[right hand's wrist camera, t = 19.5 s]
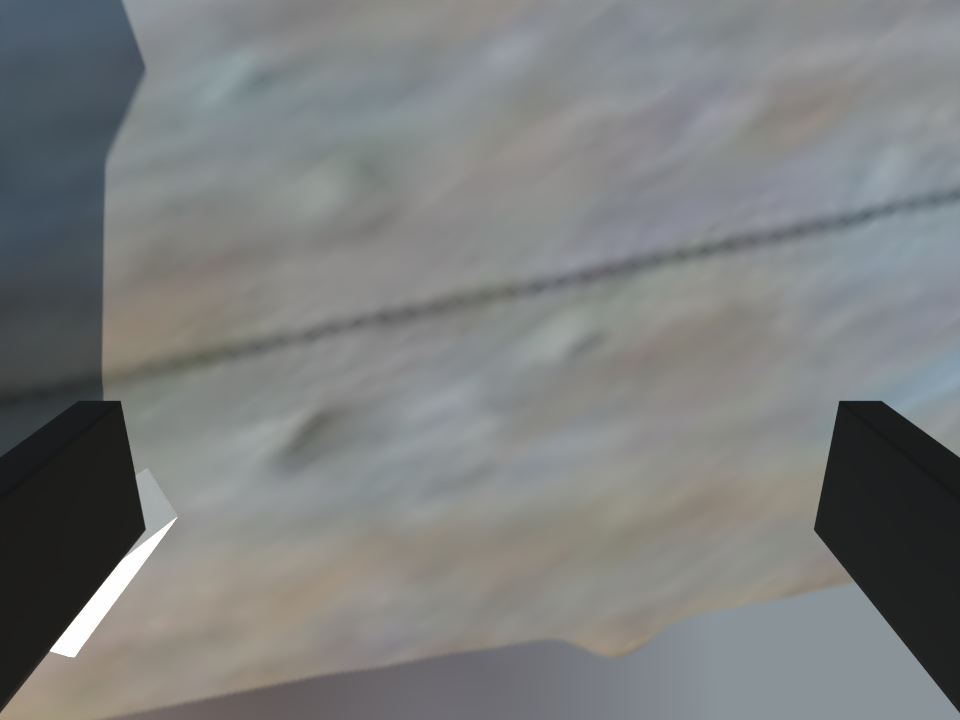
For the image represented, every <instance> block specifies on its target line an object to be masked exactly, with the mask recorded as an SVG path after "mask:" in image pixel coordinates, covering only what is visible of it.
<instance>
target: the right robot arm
mask: <svg viewBox="0 0 960 720" xmlns="http://www.w3.org/2000/svg"><path fill="white" fill-rule="evenodd" d="M145 530H146V527H145V522H144V517H143V512H142V507H141V502H140V497H139V491H138V486H137V481H136V476H135V471H134V466H133V461H132V456H131V451H130V446H129V441H128V436H127V431H126V426H125V421H124V416H123V411H122V406H121V401H78V402H76V403H75V404H74V405H72V406H71V407H70V408H68V409H67V410H65V411H64V412H63V413H61V414H60V415H58V416H57V417H56V418H54V419H53V420H52V421H50V422H49V423H47V424H46V425H45V426H43V427H42V428H41V429H39V430H38V431H36V432H35V433H34V434H32V435H31V436H30V437H28V438H27V439H25V440H24V441H23V442H21V443H20V444H18V445H17V446H16V447H14V448H13V449H12V450H10V451H9V452H7V453H6V454H5V455H3V456H2V457H1V458H0V713H1V711H2V710H3V709H4V708H5V706H6V705H7V704H8V703H9V701H10V700H11V699H12V698H13V696H14V695H15V694H16V693H17V691H18V690H19V689H20V687H21V686H22V685H23V684H24V682H25V681H26V680H27V679H28V677H29V676H30V675H31V674H32V672H33V671H34V670H35V669H36V667H37V666H38V665H39V664H40V662H41V661H42V660H43V659H44V657H45V656H46V655H47V654H48V652H49V651H50V650H51V649H52V647H53V646H54V645H55V644H56V642H57V641H58V640H59V638H60V637H61V636H62V635H63V633H64V632H65V631H66V630H67V628H68V627H69V626H70V625H71V623H72V622H73V621H74V620H75V618H76V617H77V616H78V615H79V613H80V612H81V611H82V610H83V608H84V607H85V606H86V605H87V603H88V602H89V601H90V600H91V598H92V597H93V596H94V595H95V593H96V592H97V591H98V589H99V588H100V587H101V586H102V584H103V583H104V582H105V581H106V579H107V578H108V577H109V576H110V574H111V573H112V572H113V571H114V569H115V568H116V567H117V566H118V564H119V563H120V562H121V561H122V559H123V558H124V557H125V556H126V554H127V553H128V552H129V551H130V549H131V548H132V547H133V546H134V544H135V543H136V542H137V540H138V539H139V538H140V537H141V535H142V534H143V533H144V532H145ZM814 530H815V532H816V533H817V534H818V535H819V537H820V538H821V539H822V541H823V542H824V543H825V544H826V546H827V547H828V548H829V549H830V551H831V552H832V553H833V554H834V556H835V557H836V558H837V559H838V561H839V562H840V563H841V564H842V566H843V567H844V568H845V569H846V571H847V572H848V573H849V574H850V576H851V577H852V578H853V579H854V581H855V582H856V583H857V584H858V586H859V587H860V588H861V589H862V591H863V592H864V593H865V595H866V596H867V597H868V598H869V600H870V601H871V602H872V603H873V605H874V606H875V607H876V608H877V610H878V611H879V612H880V613H881V615H882V616H883V617H884V618H885V620H886V621H887V622H888V623H889V625H890V626H891V627H892V628H893V630H894V631H895V632H896V633H897V635H898V636H899V637H900V638H901V640H902V641H903V642H904V644H905V645H906V646H907V647H908V649H909V650H910V651H911V652H912V654H913V655H914V656H915V657H916V658H917V660H918V661H919V662H920V664H921V665H922V666H923V667H924V669H925V670H926V671H927V672H928V674H929V675H930V676H931V677H932V679H933V680H934V681H935V682H936V684H937V685H938V686H939V687H940V689H941V690H942V691H943V693H944V694H945V695H946V696H947V697H948V699H949V700H950V701H951V703H952V704H953V705H954V706H955V708H956V709H957V710H958V711H959V713H960V458H959V457H958V456H957V455H955V454H954V453H953V452H951V451H950V450H948V449H947V448H946V447H944V446H943V445H942V444H940V443H939V442H937V441H936V440H935V439H933V438H932V437H930V436H929V435H928V434H926V433H925V432H924V431H922V430H921V429H919V428H918V427H917V426H915V425H914V424H913V423H911V422H910V421H908V420H907V419H906V418H904V417H903V416H902V415H900V414H899V413H897V412H896V411H895V410H893V409H892V408H890V407H889V406H888V405H886V404H885V403H884V402H882V401H839V406H838V411H837V416H836V421H835V426H834V431H833V436H832V441H831V446H830V451H829V456H828V461H827V466H826V471H825V476H824V481H823V486H822V491H821V496H820V502H819V507H818V512H817V517H816V522H815V527H814Z"/></svg>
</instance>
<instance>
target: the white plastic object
mask: <svg viewBox="0 0 960 720" xmlns="http://www.w3.org/2000/svg"><path fill="white" fill-rule="evenodd" d="M136 481H137V486H138V491H139V497H140V502H141V507H142V512H143V517H144V522H145V527H146V530H145V532H144V533H143V534H142V535H141V537H140V538H139V539H138V540H137V542H136V543H135V544H134V546H133V547H132V548H131V549H130V551H129V552H128V553H127V554H126V556H125V557H124V558H123V559H122V561H121V562H120V563H119V564H118V566H117V567H116V568H115V569H114V571H113V572H112V573H111V574H110V576H109V577H108V578H107V579H106V581H105V582H104V583H103V584H102V586H101V587H100V588H99V589H98V591H97V592H96V593H95V595H94V596H93V597H92V598H91V600H90V601H89V602H88V603H87V605H86V606H85V607H84V608H83V610H82V611H81V612H80V613H79V615H78V616H77V617H76V618H75V620H74V621H73V622H72V623H71V625H70V626H69V627H68V628H67V630H66V631H65V632H64V633H63V635H62V636H61V637H60V638H59V640H58V641H57V642H56V644H55V645H54V646H53V647H52V649H51V650H50V651H52V652H56V653H59V654H62V655H66V656H69V657H75V656H76V654H77V653H78V651H79V650H80V648H81V647H82V646H83V644H84V643H85V641H86V640H87V639H88V637H89V636H90V635H91V633H92V632H93V631H94V629H95V628H96V627H97V625H98V624H99V623H100V621H101V620H102V618H103V617H104V616H105V614H106V613H107V612H108V610H109V609H110V608H111V606H112V605H113V604H114V602H115V601H116V600H117V598H118V597H119V595H120V594H121V593H122V591H123V590H124V589H125V587H126V586H127V585H128V583H129V582H130V581H131V579H132V578H133V576H134V575H135V574H136V572H137V571H138V570H139V568H140V567H141V566H142V564H143V563H144V562H145V560H146V559H147V558H148V556H149V555H150V553H151V552H152V551H153V549H154V548H155V547H156V545H157V544H158V543H159V541H160V540H161V539H162V537H163V536H164V535H165V533H166V532H167V530H168V529H169V528H170V526H171V525H172V524H173V522H174V521H175V520H176V518H177V517H178V516H177V515H176V513H175V511H174V510H173V508H172V507H171V505H170V503H169V502H168V500H167V499H166V497H165V495H164V494H163V492H162V490H161V489H160V487H159V486H158V484H157V482H156V481H155V479H154V478H153V476H152V474H151V473H150V471H149V469H148V468H146V469H144V470H143V471H141V472H140V473H139V474H137V475H136Z"/></svg>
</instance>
